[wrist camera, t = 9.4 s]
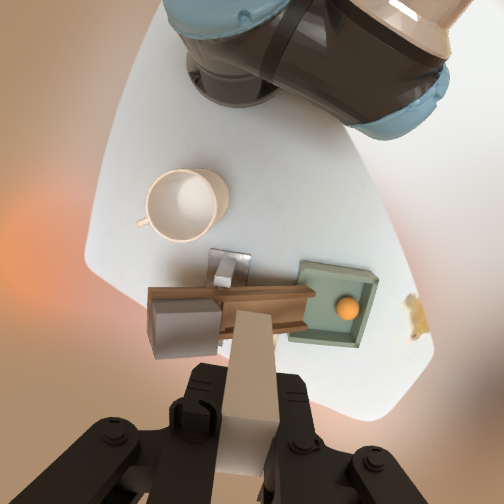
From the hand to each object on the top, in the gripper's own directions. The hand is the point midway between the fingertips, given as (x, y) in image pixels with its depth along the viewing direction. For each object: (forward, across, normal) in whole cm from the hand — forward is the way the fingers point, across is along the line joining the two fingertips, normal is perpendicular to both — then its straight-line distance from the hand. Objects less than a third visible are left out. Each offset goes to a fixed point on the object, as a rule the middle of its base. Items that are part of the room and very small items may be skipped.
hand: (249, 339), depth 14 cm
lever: (+25, -1, -13) cm, 28 cm away
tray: (+32, +13, -10) cm, 36 cm away
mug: (+33, -10, +2) cm, 34 cm away
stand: (+32, -3, -10) cm, 34 cm away
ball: (+30, +16, -10) cm, 35 cm away
